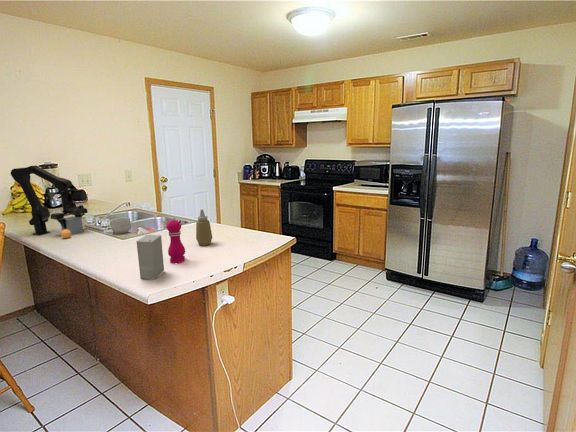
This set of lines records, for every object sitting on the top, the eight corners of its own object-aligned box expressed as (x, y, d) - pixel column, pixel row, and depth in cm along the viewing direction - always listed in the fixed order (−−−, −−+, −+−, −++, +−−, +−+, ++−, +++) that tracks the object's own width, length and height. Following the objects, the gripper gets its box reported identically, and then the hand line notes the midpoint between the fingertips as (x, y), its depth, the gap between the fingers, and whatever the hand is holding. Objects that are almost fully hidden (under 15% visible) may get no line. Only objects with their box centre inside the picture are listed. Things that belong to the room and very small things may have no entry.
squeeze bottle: (198, 247, 168) (195, 212, 164) (195, 243, 175) (191, 209, 171) (214, 245, 171) (212, 210, 167) (210, 240, 178) (207, 207, 174)
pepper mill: (171, 258, 153) (166, 215, 149) (187, 257, 154) (183, 214, 149) (167, 264, 146) (162, 219, 142) (184, 263, 147) (179, 218, 142)
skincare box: (149, 271, 140) (145, 234, 136) (166, 271, 139) (162, 234, 135) (139, 279, 131) (133, 240, 128) (156, 279, 131) (152, 240, 127)
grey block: (62, 233, 200) (59, 219, 198) (75, 230, 207) (72, 216, 205) (70, 234, 197) (68, 220, 195) (83, 231, 204) (81, 217, 202)
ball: (59, 238, 190) (57, 230, 189) (68, 236, 194) (66, 227, 193) (65, 239, 188) (63, 231, 187) (73, 237, 192) (72, 228, 191)
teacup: (123, 235, 194) (121, 221, 192) (107, 234, 196) (105, 221, 194) (138, 228, 207) (137, 216, 205) (123, 228, 209) (121, 215, 207)
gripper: (60, 205, 186) (65, 233, 190) (91, 199, 203) (95, 224, 206) (47, 204, 191) (52, 231, 195) (79, 198, 207) (83, 223, 211)
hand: (72, 227), depth 201 cm, fingers closed on grey block, 8 cm apart
